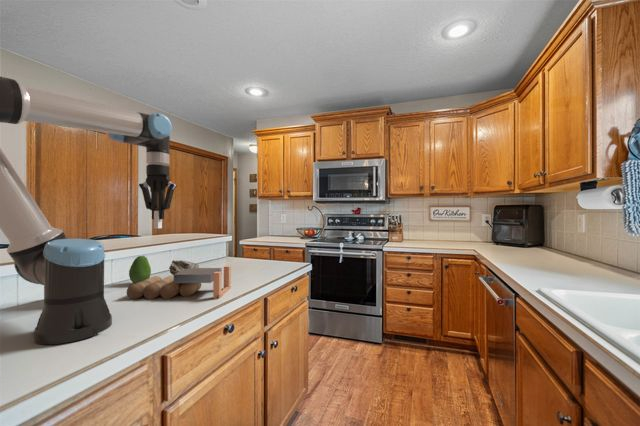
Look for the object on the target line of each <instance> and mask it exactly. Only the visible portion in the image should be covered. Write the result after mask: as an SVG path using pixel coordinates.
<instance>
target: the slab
mask: <svg viewBox="0 0 640 426" xmlns="http://www.w3.org/2000/svg"><path fill="white" fill-rule="evenodd" d="M214 272H221V277H222V267H199V268H188V269H185V270H183V271H181V272H178V273H176V274H174V276H173V277H174V283H201V284H211V283H213V273H214Z"/></svg>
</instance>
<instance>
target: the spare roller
mask: <svg viewBox="0 0 640 426" xmlns="http://www.w3.org/2000/svg"><path fill="white" fill-rule="evenodd" d="M201 288H202V283H185V284H184V285H182V286H181V287H180V293H179V294H180V295H181V296H182V297H190V296H192V295H193V294H195V293H196V292H197V291H199V290H200V289H201Z"/></svg>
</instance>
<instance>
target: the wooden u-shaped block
mask: <svg viewBox="0 0 640 426" xmlns="http://www.w3.org/2000/svg"><path fill="white" fill-rule="evenodd" d="M231 267H232V266H231V265H224V266H223V289H222V276H221V272H214V273H213V282H212V285H213V286H212V287H213V288H212V289H213V292H212V295H213V296H212V298H213V300H216V299H218V300H219V299H220V298H221V297H223V296H224V295H225V294H226V293H227V292H228V291H229V290H230V289H231V287H232V285H231V283H232V281H231V279H232V277H231V276H232V271H231V270H232V269H231Z"/></svg>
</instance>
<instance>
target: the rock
mask: <svg viewBox="0 0 640 426" xmlns="http://www.w3.org/2000/svg"><path fill="white" fill-rule="evenodd" d="M188 268H200V266H199V263H196V262H195V263H194V262H191V261H186V260H175V259H174V260H172V261H171V264H170V265H169V267H168V269H169V273H170V274H171V276H173V277H174V274H176V273H178V272H181V271H183V270H185V269H188Z"/></svg>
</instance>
